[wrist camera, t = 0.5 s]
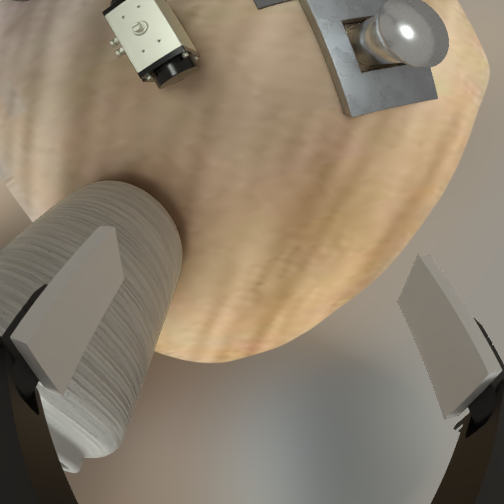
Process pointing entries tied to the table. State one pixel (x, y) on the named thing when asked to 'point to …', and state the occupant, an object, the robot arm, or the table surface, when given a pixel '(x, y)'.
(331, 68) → the frame
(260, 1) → the mat
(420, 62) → the grey bottle
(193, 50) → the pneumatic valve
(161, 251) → the vase
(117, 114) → the table surface
